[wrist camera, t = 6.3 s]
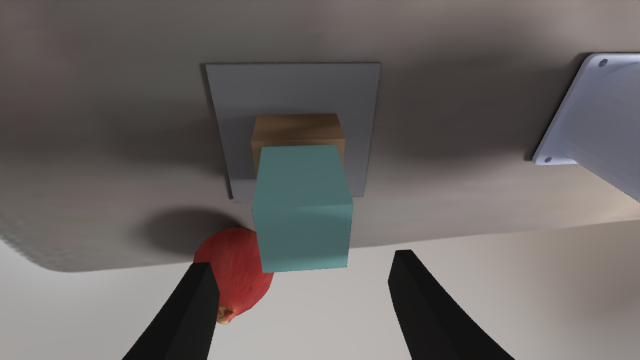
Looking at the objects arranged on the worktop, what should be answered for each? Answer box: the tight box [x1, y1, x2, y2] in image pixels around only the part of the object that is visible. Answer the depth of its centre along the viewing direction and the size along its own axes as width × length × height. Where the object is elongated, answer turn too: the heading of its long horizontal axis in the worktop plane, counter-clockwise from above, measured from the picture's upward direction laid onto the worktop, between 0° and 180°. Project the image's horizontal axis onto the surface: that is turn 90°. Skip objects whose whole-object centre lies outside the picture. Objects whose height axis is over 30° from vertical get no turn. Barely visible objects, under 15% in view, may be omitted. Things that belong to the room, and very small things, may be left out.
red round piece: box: [193, 227, 274, 325], centre depth 21 cm, size 6×6×8 cm
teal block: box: [252, 144, 353, 273], centre depth 14 cm, size 4×4×5 cm
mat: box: [205, 62, 381, 203], centre depth 19 cm, size 10×10×1 cm
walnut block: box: [251, 113, 345, 180], centre depth 18 cm, size 5×5×4 cm
